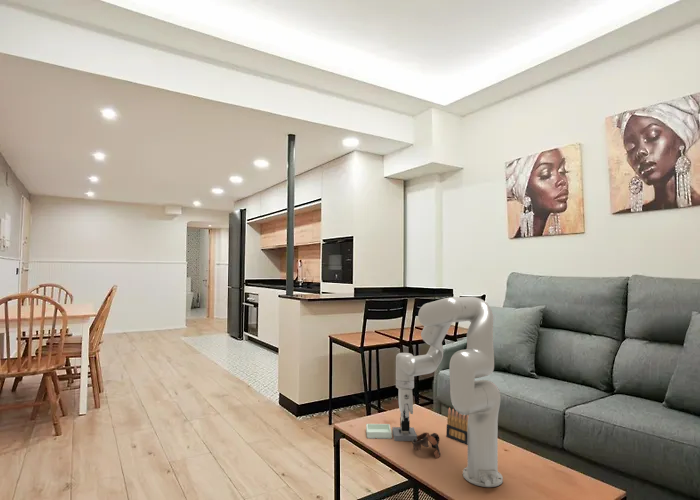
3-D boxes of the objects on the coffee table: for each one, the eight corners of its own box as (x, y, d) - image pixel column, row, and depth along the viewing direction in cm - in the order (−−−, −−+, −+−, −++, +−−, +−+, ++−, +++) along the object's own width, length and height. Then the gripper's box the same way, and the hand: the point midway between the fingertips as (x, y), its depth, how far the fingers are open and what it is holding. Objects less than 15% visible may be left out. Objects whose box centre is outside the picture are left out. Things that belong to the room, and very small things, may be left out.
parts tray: (391, 438, 165) (391, 432, 165) (367, 438, 165) (367, 432, 165) (389, 430, 174) (389, 424, 174) (366, 429, 174) (366, 423, 174)
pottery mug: (434, 463, 145) (423, 441, 147) (416, 466, 152) (405, 445, 153) (450, 444, 154) (439, 424, 156) (432, 448, 160) (421, 428, 162)
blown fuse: (409, 437, 166) (409, 414, 166) (401, 436, 166) (401, 414, 166) (408, 433, 169) (408, 411, 169) (400, 433, 169) (400, 411, 169)
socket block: (417, 441, 163) (417, 436, 163) (394, 440, 163) (394, 435, 163) (413, 432, 172) (413, 427, 172) (392, 431, 172) (392, 427, 172)
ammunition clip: (471, 444, 161) (471, 413, 162) (468, 445, 160) (468, 414, 160) (448, 435, 169) (448, 406, 170) (446, 436, 168) (446, 407, 169)
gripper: (417, 389, 160) (417, 437, 159) (411, 378, 177) (411, 421, 176) (398, 389, 160) (398, 436, 159) (393, 378, 177) (393, 421, 176)
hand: (404, 428), depth 167 cm, fingers closed on blown fuse, 3 cm apart
